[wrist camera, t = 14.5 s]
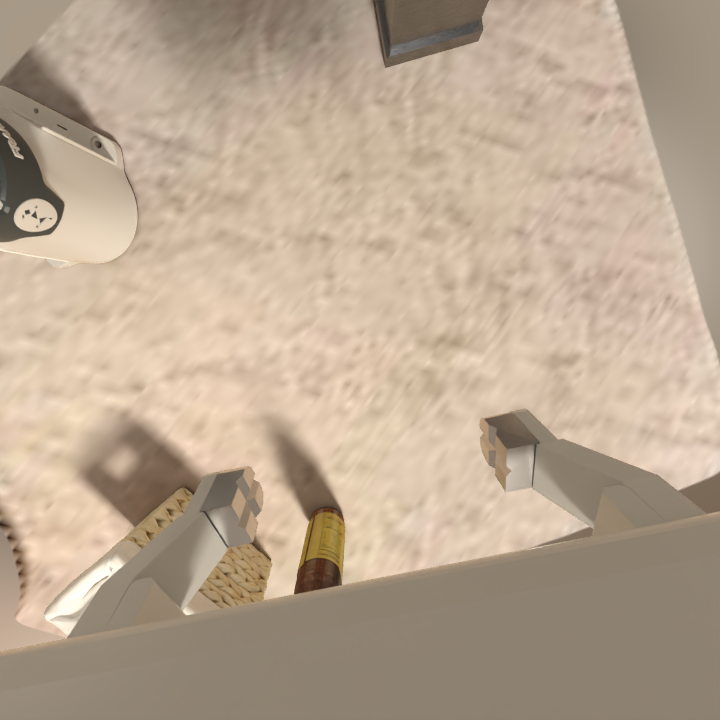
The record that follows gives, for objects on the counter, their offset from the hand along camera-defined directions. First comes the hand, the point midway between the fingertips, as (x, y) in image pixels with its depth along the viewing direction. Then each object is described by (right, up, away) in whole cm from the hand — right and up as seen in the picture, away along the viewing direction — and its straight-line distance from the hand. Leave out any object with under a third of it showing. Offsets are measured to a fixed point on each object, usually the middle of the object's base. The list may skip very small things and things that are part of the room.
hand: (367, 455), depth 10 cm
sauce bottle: (-6, -24, +40) cm, 47 cm away
